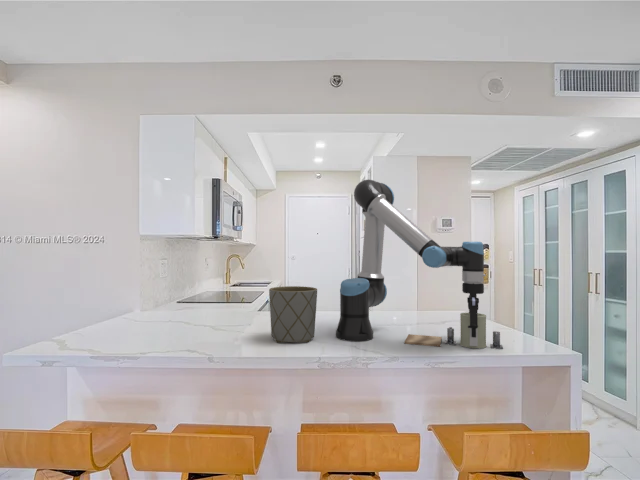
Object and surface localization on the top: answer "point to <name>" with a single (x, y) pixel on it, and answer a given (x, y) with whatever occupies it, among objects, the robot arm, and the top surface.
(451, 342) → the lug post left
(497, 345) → the lug post right
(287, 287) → the planter
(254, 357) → the top surface
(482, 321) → the can
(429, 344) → the tan flat square board
